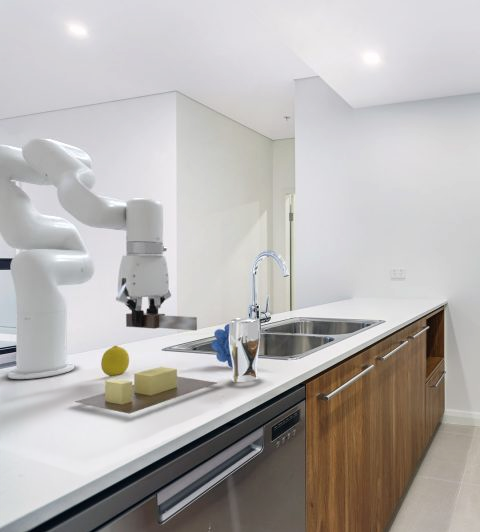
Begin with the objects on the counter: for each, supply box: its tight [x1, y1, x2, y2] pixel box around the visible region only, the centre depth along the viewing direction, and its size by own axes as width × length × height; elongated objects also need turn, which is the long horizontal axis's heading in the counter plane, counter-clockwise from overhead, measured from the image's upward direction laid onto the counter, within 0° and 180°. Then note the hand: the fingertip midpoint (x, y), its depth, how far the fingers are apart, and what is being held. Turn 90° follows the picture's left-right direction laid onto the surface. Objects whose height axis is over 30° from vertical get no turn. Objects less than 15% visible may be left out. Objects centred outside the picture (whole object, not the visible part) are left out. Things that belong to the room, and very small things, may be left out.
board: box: [74, 376, 217, 415], centre depth 84 cm, size 16×20×1 cm
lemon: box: [100, 345, 130, 377], centre depth 97 cm, size 6×6×8 cm
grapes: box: [210, 323, 233, 369], centre depth 106 cm, size 12×7×12 cm, turn 108°
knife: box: [125, 312, 198, 331], centre depth 94 cm, size 22×3×3 cm, turn 68°
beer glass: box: [229, 317, 261, 383], centre depth 93 cm, size 7×7×15 cm
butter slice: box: [104, 378, 133, 405], centre depth 77 cm, size 5×2×4 cm, turn 68°
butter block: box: [133, 366, 178, 396], centre depth 84 cm, size 5×6×4 cm
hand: (145, 325), depth 97 cm, fingers closed on knife, 2 cm apart
